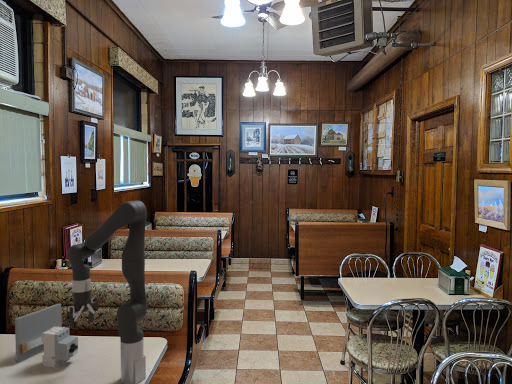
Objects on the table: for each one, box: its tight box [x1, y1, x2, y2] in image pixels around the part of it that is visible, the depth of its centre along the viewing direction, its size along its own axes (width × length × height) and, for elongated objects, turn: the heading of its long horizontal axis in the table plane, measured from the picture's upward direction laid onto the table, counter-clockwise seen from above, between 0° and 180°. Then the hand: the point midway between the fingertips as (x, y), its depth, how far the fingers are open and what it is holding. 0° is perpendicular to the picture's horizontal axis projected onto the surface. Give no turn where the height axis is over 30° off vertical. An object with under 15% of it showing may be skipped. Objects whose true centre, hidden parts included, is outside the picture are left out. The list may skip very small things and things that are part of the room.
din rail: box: [21, 335, 44, 353], centre depth 178 cm, size 2×20×4 cm, turn 155°
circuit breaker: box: [41, 326, 79, 369], centre depth 168 cm, size 8×14×15 cm, turn 78°
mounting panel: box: [14, 303, 63, 363], centre depth 179 cm, size 2×22×20 cm, turn 155°
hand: (83, 325), depth 162 cm, fingers open, 8 cm apart
